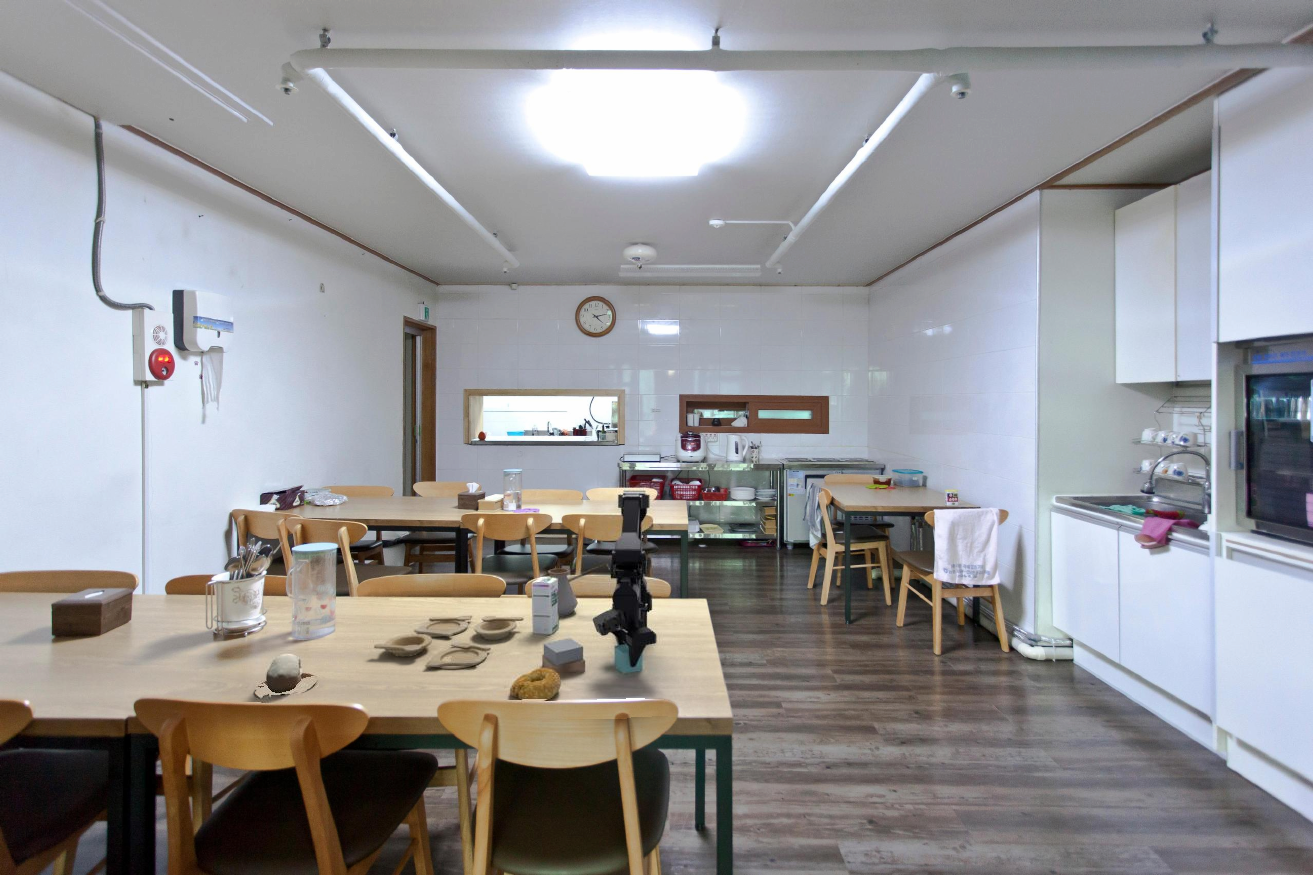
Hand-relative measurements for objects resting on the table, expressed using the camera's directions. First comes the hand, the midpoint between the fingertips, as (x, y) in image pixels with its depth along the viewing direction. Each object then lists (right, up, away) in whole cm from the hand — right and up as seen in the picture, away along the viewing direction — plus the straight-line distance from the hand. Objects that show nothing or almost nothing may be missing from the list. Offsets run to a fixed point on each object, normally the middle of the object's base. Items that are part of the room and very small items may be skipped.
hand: (628, 662), depth 151 cm
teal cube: (0, -1, 0) cm, 1 cm away
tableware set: (-48, -1, +16) cm, 50 cm away
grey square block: (-15, +1, 0) cm, 16 cm away
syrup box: (-24, 0, +26) cm, 35 cm away
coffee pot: (-18, 0, +42) cm, 46 cm away
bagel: (-20, -2, -14) cm, 24 cm away
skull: (-75, -2, -11) cm, 76 cm away
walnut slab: (-15, -2, 0) cm, 16 cm away
